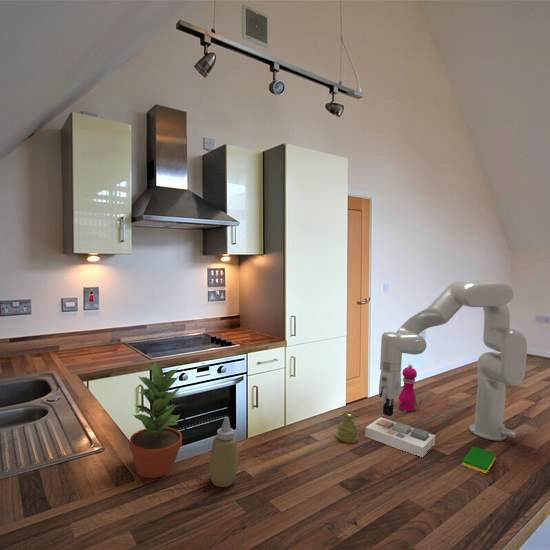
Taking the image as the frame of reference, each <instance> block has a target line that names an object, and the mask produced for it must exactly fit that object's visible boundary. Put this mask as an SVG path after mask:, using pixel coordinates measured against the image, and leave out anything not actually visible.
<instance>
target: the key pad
mask: <svg viewBox="0 0 550 550" xmlns="http://www.w3.org/2000/svg"><path fill="white" fill-rule="evenodd" d="M381 419H383V420H386V421H389V422H392V423H394V424H393V426H394V425H395V424H397V423H398V422H396V421H393V420H391V419H387V418H384V417H379V418H377V419H376V420H374V421H373V422H372V423H370V424H368V425H367V426H365V431H364V437H365V438H368V439H370V440H373V441H376V442H379V443H382V444H384V445H387V446H389V447H392V448H394V449H397V450H400V451H402V450H403V452H405V451H406V452H405V453H407V452H409V453H408V454H410V453H411V455H413V454H414V455H413V456H415V455H417V456H416V457H418V456H420V457H419V458H421V457H422V458H423V457H425V455H427V453H428V452H429V451H430V450H431V449H432V448H433V447H434V446H435V445H436V444H435V443H436V435H435V434H432V433H430V432H429V435H428V439H427V440H425V441H423V440H420V439H417V438H414V437H411V431H412V430H414V429H415V428H416V427H411V430H410V432H409V433H408V434H407V435H405V434H403V433H400V432H397V431H394V430H393V426H392V427H391V428H389V429H388V428H385V427H382V426H380V425H377V422H378V421H380V420H381ZM432 446H433V447H432ZM431 447H432V448H431ZM430 448H431V449H430ZM429 449H430V450H429ZM428 450H429V451H428ZM427 451H428V452H427Z"/></svg>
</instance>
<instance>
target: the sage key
mask: <svg viewBox="0 0 550 550" xmlns="http://www.w3.org/2000/svg"><path fill="white" fill-rule="evenodd" d="M393 430H394V431H397V432H400V433H403V434H405V435H407V434H408V433H409V432H410V430H411V425H409V424H405V423H402V422H397V424H395V425H394V426H393Z"/></svg>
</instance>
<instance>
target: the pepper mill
mask: <svg viewBox="0 0 550 550" xmlns="http://www.w3.org/2000/svg"><path fill="white" fill-rule="evenodd" d="M401 372H402V373H401V375H402V376H403V378H402V381H403V387H402V389H401V393H400V395H398V400H399V402H400V403H398V405H399V406H398V408H399V409H400V410H401V409H403V410H406V411H405V412H408V411H412V412H414V410H415V404H416V402H417V397H416V394H415V391H414V384H415V383H416V380H415V379H416V378H417V376H418V372H417V370H416V369H415V368H413V365H412V364H411V363H409V364H407V367H404V368H403V370H402V371H401ZM403 410H402V411H403Z"/></svg>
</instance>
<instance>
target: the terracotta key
mask: <svg viewBox="0 0 550 550" xmlns="http://www.w3.org/2000/svg"><path fill="white" fill-rule="evenodd" d="M393 424H394V423H392V422H389V421H386V420H383V419H381V420H380V421H378V422H377V425H380V426H382V427H385V428H388V429H389V428H391V427H392V426H393Z"/></svg>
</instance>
